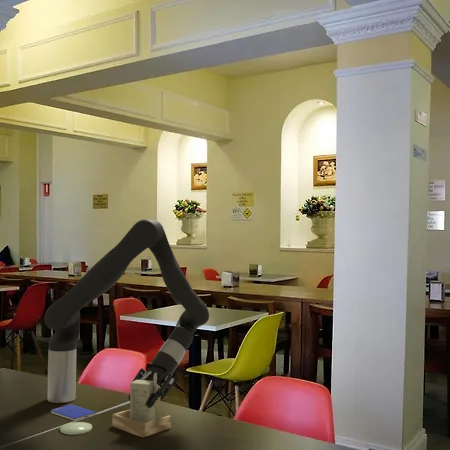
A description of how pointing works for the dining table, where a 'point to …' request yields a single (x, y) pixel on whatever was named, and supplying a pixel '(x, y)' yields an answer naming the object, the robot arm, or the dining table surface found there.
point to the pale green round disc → (76, 428)
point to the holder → (140, 424)
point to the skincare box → (141, 401)
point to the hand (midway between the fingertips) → (138, 403)
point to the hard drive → (73, 412)
